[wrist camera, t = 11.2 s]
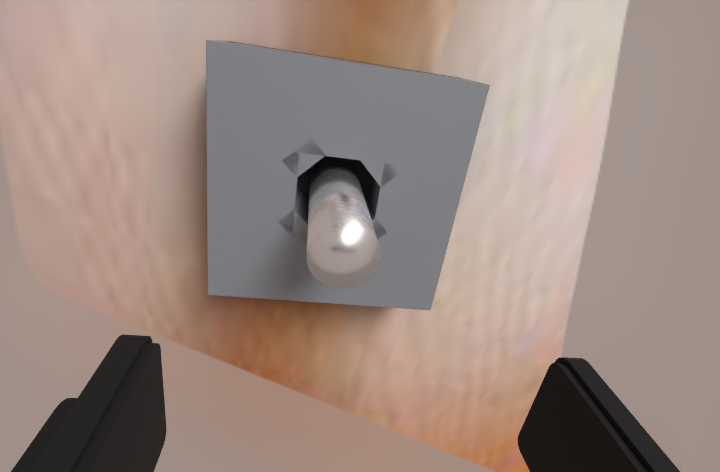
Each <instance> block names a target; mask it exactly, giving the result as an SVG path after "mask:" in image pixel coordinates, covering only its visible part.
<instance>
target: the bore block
mask: <svg viewBox="0 0 720 472" xmlns="http://www.w3.org/2000/svg"><path fill="white" fill-rule="evenodd" d="M489 86H490V85H487V84H483V83H479V82H475V81H470V80H466V79H462V78H457V77H451V76H445V75H438V74H432V73H426V72H419V71H413V70H407V69H400V68H394V67H388V66H382V65H375V64H369V63H363V62H356V61H350V60H344V59H338V58H331V57H325V56H319V55H312V54H306V53H300V52H294V51H287V50H281V49H275V48H268V47H262V46H256V45H250V44H243V43H237V42H231V41H212V40H206V109H207V249H208V295H218V296H232V297H246V298H261V299H275V300H289V301H304V302H318V303H332V304H347V305H361V306H375V307H389V308H404V309H418V310H431V306H432V302H433V298H434V295H435V291H436V287H437V283H438V279H439V276H440V272H441V268H442V264H443V261H444V257H445V253H446V249H447V245H448V242H449V238H450V234H451V230H452V226H453V223H454V219H455V215H456V211H457V207H458V204H459V200H460V196H461V192H462V188H463V185H464V181H465V177H466V173H467V169H468V166H469V162H470V158H471V154H472V150H473V147H474V143H475V139H476V135H477V131H478V128H479V124H480V120H481V116H482V112H483V109H484V105H485V101H486V97H487V93H488V90H489ZM324 156H329V157H338V158H346V159H349V160H350V161H351V162H352V163H353V165H354V167H355V169H356V172H357V175H358V179H359V182H360V185H361V188H362V191H363V195H364V198H365V201H366V204H367V208H368V211H369V214H370V217H371V221H372V224H373V227H374V230H375V234H376V237H377V240H378V243H379V246H380V251H381V259H380V264H379V266H378V269H377V270H376V272H375V273H374V275H373V276H372V277H371V278H370V279H369V280H368V281H366V282H365V283H363V284H361V285H359V286H357V287H353V288H349V289H336V288H332V287H328V286H326V285H324V284H322V283H321V282H319V281H318V280H317V279H316V278H315V277H314V276H313V275H312V273H311V272H310V270H309V268H308V265H307V259H306V258H307V236H308V215H309V194H310V174H311V170H312V167H313V165H314V164H315V163H317V162H318V161H319V160H320V159H322V158H323V157H324Z"/></svg>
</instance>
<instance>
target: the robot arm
mask: <svg viewBox="0 0 720 472" xmlns="http://www.w3.org/2000/svg"><path fill="white" fill-rule="evenodd" d="M165 436H166V418H165V404H164V391H163V377H162V364H161V349H160V345H159V344H158V343H157V344H156V343H152V339H151V337H150V336H136V335H121V336H119V337H118V339H117V340H116V341H115V343H114V344H113V346H112V347H111V349H110V350H109V352H108V353H107V355H106V356H105V358H104V359H103V361H102V362H101V364H100V365H99V367H98V368H97V370H96V371H95V373H94V374H93V376H92V377H91V379H90V380H89V382H88V384H87V385H86V386H85V388H84V390H83V391H82V393H81V394H80V396H79V397H78V398H67V399H65V400H64V401H62V402H61V403H60V404H59V405H58V406H57V408H56V409H55V410H54V411H53V413H52V414H51V416H50V417H49V419H48V420H47V421H46V423H45V424H44V426H43V427H42V428H41V430H40V431H39V433H38V434H37V436H36V437H35V439H34V440H33V442H32V443H31V444H30V446H29V447H28V448H27V450H26V451H25V453H24V454H23V455H22V457H21V458H20V460H19V461H18V463H17V464H16V466H15V467H14V468H13V470H12V471H11V472H154V469H155V466H156V463H157V461H158V458H159V456H160V453H161V450H162V448H163V445H164V441H165ZM518 446H519V450H520V452H521V454H522V456H523V458H524V460H525V462H526V464H527V466H528V468H529V470H530V472H680V471H679V470H678V469H677V468H676V466H675V465H674V464H673V463H672V462H671V461H670V459H669V458H668V457H667V456H666V454H665V453H664V452H663V451H662V450H661V449H660V447H659V446H658V445H657V444H656V442H655V441H654V440H653V439H652V438H651V437H650V435H649V434H648V433H647V432H646V431H645V429H644V428H643V427H642V426H641V425H640V423H639V422H638V421H637V420H636V419H635V417H634V416H633V415H632V414H631V413H630V412H629V410H628V409H627V408H626V407H625V406H624V404H623V403H622V402H621V401H620V400H619V398H618V397H617V396H616V395H615V394H614V392H613V391H612V390H611V389H610V388H609V387H608V385H607V384H606V383H605V382H604V381H603V380H602V378H601V377H600V376H599V375H598V374H597V372H596V371H595V370H594V369H593V368H592V366H591V365H590V364H589V363H588V362H587V361H586V360H584V359H582V358H558V359H557V360H556V361H555V363H552V364H551V365H550V367H549V369H548V371H547V373H546V375H545V377H544V380H543V382H542V384H541V386H540V389H539V391H538V393H537V395H536V398H535V400H534V402H533V404H532V406H531V409H530V411H529V413H528V415H527V418H526V420H525V422H524V424H523V426H522V429H521V431H520V433H519V436H518Z"/></svg>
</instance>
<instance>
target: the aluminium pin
mask: <svg viewBox="0 0 720 472" xmlns="http://www.w3.org/2000/svg"><path fill="white" fill-rule="evenodd" d="M306 259H307V265H308V268H309V270H310V272H311V273H312V275H313V276H314V277H315V278H316V279H317V280H318V281H319V282H321V283H322V284H324V285H326V286H328V287H332V288H336V289H349V288H353V287H357V286H359V285H361V284H363V283H365V282H366V281H368V280H369V279H370V278H371V277H372V276H373V275H374V273H375V272H376V270H377V269H378V266H379V264H380V259H381V251H380V246H379V243H378V240H377V237H376V234H375V230H374V227H373V224H372V221H371V217H370V214H369V211H368V208H367V204H366V201H365V198H364V195H363V191H362V188H361V185H360V182H359V179H358V175H357V172H356V169H355V167H354V165H353V163H352V162H351V161H350V160H349V159H346V158H338V157H329V156H324V157H323V158H322V159H320V160H319V161H318V162H317V163H315V164H314V165H313V167H312V170H311V174H310V194H309V215H308V236H307V258H306Z"/></svg>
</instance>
